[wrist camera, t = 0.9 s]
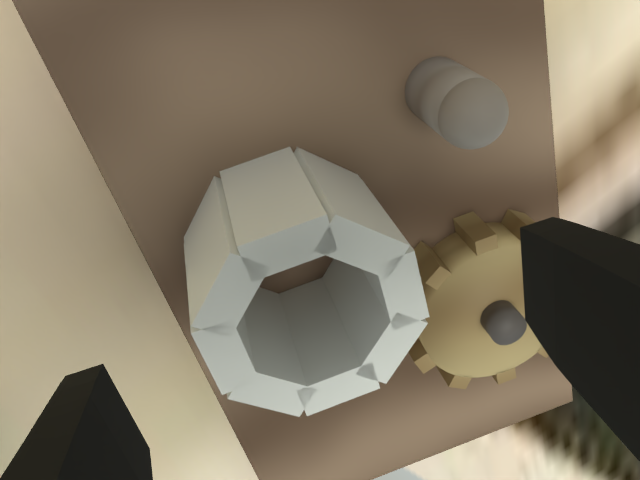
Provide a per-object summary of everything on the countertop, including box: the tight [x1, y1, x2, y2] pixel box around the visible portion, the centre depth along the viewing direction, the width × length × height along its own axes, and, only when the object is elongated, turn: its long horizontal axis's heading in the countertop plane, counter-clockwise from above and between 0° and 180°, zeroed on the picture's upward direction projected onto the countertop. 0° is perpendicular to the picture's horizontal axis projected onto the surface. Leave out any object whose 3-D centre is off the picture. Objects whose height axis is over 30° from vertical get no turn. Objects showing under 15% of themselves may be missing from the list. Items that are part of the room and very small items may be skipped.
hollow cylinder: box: [184, 147, 430, 417], centre depth 17 cm, size 6×6×4 cm
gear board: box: [12, 0, 573, 480], centre depth 19 cm, size 22×13×4 cm, turn 15°
